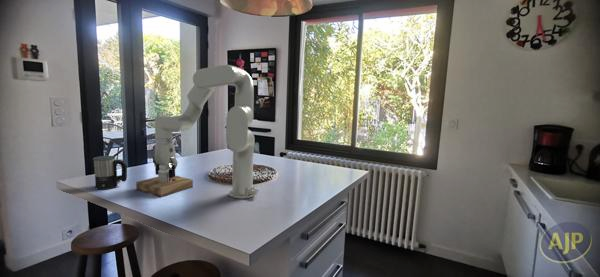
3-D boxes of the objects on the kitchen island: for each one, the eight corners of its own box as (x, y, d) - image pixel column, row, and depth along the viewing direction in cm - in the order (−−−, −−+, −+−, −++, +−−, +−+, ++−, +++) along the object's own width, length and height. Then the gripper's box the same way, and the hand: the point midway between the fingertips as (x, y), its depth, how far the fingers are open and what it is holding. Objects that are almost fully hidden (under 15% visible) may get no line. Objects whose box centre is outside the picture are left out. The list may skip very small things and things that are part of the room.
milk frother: (94, 191, 137) (92, 160, 134) (94, 182, 149) (92, 153, 147) (129, 186, 145) (128, 157, 143) (126, 178, 157) (125, 151, 155)
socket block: (192, 187, 148) (192, 179, 147) (161, 197, 132) (160, 188, 131) (169, 181, 156) (168, 173, 156) (136, 189, 140) (136, 181, 140)
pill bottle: (169, 184, 148) (168, 162, 147) (174, 186, 144) (174, 164, 142) (156, 186, 144) (155, 163, 142) (161, 189, 140) (161, 166, 138)
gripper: (183, 142, 140) (183, 176, 142) (159, 138, 148) (160, 171, 150) (169, 144, 133) (170, 180, 136) (145, 140, 142) (147, 174, 144)
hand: (165, 175), depth 143 cm, fingers open, 9 cm apart
